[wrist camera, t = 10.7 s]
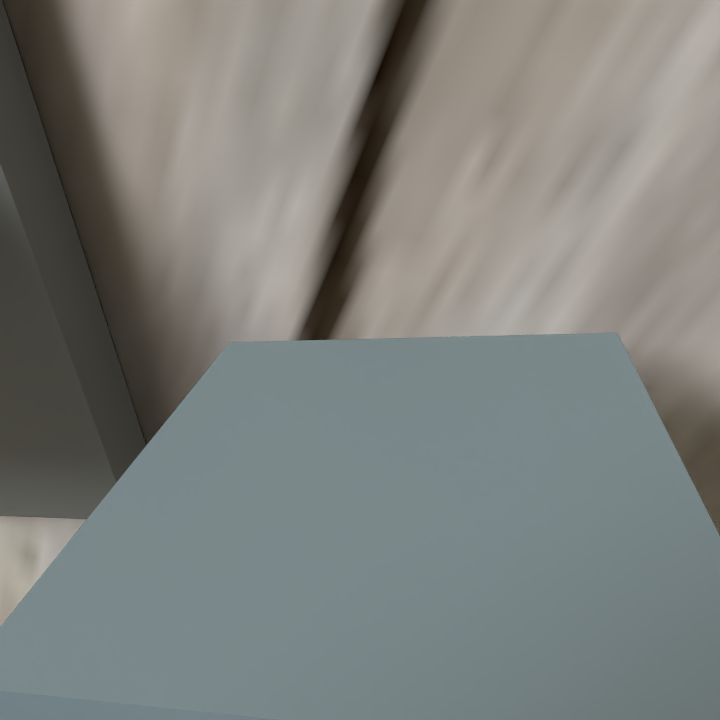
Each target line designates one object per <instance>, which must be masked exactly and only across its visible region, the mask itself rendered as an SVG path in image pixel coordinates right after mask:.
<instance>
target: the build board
mask: <svg viewBox="0 0 720 720" xmlns="http://www.w3.org/2000/svg"><path fill="white" fill-rule="evenodd" d="M145 447H146V443H145V440H144V437H143V434H142V431H141V428H140V425H139V422H138V419H137V416H136V413H135V409H134V406H133V403H132V400H131V397H130V394H129V391H128V388H127V385H126V382H125V379H124V375H123V372H122V369H121V366H120V363H119V360H118V357H117V354H116V351H115V348H114V345H113V341H112V338H111V335H110V332H109V329H108V326H107V323H106V320H105V317H104V314H103V311H102V307H101V304H100V301H99V298H98V295H97V292H96V289H95V286H94V283H93V280H92V277H91V273H90V270H89V267H88V264H87V261H86V258H85V255H84V252H83V249H82V246H81V243H80V240H79V236H78V233H77V230H76V227H75V224H74V221H73V218H72V215H71V212H70V209H69V206H68V202H67V199H66V196H65V193H64V190H63V187H62V184H61V181H60V178H59V175H58V172H57V168H56V165H55V162H54V159H53V156H52V153H51V150H50V147H49V144H48V141H47V138H46V134H45V131H44V128H43V125H42V122H41V119H40V116H39V113H38V110H37V107H36V104H35V100H34V97H33V94H32V91H31V88H30V85H29V82H28V79H27V76H26V73H25V70H24V66H23V63H22V60H21V57H20V54H19V51H18V48H17V45H16V42H15V39H14V36H13V33H12V29H11V26H10V23H9V20H8V17H7V14H6V11H5V8H4V5H3V2H2V0H0V516H20V517H46V518H72V519H88V517H89V516H90V515H91V514H92V512H93V511H94V510H95V509H96V507H97V506H98V505H99V504H100V503H101V501H102V500H103V499H104V498H105V496H106V495H107V494H108V493H109V491H110V490H111V489H112V488H113V486H114V485H115V484H116V483H117V481H118V480H119V479H120V478H121V476H122V475H123V474H124V473H125V472H126V470H127V469H128V468H129V467H130V465H131V464H132V463H133V462H134V460H135V459H136V458H137V457H138V455H139V454H140V453H141V452H142V450H143V449H144V448H145Z"/></svg>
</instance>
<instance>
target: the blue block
mask: <svg viewBox="0 0 720 720" xmlns="http://www.w3.org/2000/svg"><path fill="white" fill-rule="evenodd" d="M0 720H720V535H719V533H718V531H717V529H716V527H715V525H714V523H713V521H712V519H711V518H710V516H709V514H708V512H707V510H706V508H705V506H704V504H703V502H702V500H701V498H700V496H699V494H698V492H697V490H696V488H695V486H694V484H693V482H692V480H691V478H690V476H689V474H688V472H687V470H686V468H685V466H684V464H683V462H682V460H681V458H680V456H679V454H678V452H677V450H676V448H675V446H674V444H673V442H672V440H671V438H670V436H669V434H668V432H667V430H666V428H665V426H664V424H663V422H662V420H661V418H660V416H659V414H658V412H657V410H656V408H655V406H654V404H653V402H652V400H651V398H650V396H649V394H648V392H647V390H646V388H645V386H644V384H643V382H642V380H641V378H640V376H639V375H638V373H637V371H636V369H635V367H634V365H633V363H632V361H631V359H630V357H629V355H628V353H627V351H626V349H625V347H624V345H623V343H622V341H621V339H620V337H619V335H618V333H590V334H550V335H509V336H468V337H428V338H387V339H347V340H306V341H266V342H229V344H228V345H227V346H226V347H225V349H224V350H223V351H222V352H221V354H220V355H219V356H218V357H217V359H216V360H215V361H214V362H213V364H212V365H211V366H210V367H209V369H208V370H207V371H206V372H205V373H204V375H203V376H202V377H201V378H200V380H199V381H198V382H197V383H196V385H195V386H194V387H193V388H192V390H191V391H190V392H189V393H188V395H187V396H186V397H185V398H184V400H183V401H182V402H181V403H180V404H179V406H178V407H177V408H176V409H175V411H174V412H173V413H172V414H171V416H170V417H169V418H168V419H167V421H166V422H165V423H164V424H163V426H162V427H161V428H160V429H159V431H158V432H157V433H156V434H155V436H154V437H153V438H152V439H151V440H150V442H149V443H148V444H147V445H146V447H145V448H144V449H143V450H142V452H141V453H140V454H139V455H138V457H137V458H136V459H135V460H134V462H133V463H132V464H131V465H130V467H129V468H128V469H127V470H126V472H125V473H124V474H123V475H122V476H121V478H120V479H119V480H118V481H117V483H116V484H115V485H114V486H113V488H112V489H111V490H110V491H109V493H108V494H107V495H106V496H105V498H104V499H103V500H102V501H101V503H100V504H99V505H98V506H97V507H96V509H95V510H94V511H93V512H92V514H91V515H90V516H89V517H88V519H87V520H86V521H85V522H84V524H83V525H82V526H81V527H80V529H79V530H78V531H77V532H76V534H75V535H74V536H73V537H72V539H71V540H70V541H69V542H68V543H67V545H66V546H65V547H64V548H63V550H62V551H61V552H60V553H59V555H58V556H57V557H56V558H55V560H54V561H53V562H52V563H51V565H50V566H49V567H48V568H47V570H46V571H45V572H44V573H43V575H42V576H41V577H40V578H39V579H38V581H37V582H36V583H35V584H34V586H33V587H32V588H31V589H30V591H29V592H28V593H27V594H26V596H25V597H24V598H23V599H22V601H21V602H20V603H19V604H18V606H17V607H16V608H15V609H14V611H13V612H12V613H11V614H10V615H9V617H8V618H7V619H6V620H5V622H4V623H3V624H2V625H1V627H0Z"/></svg>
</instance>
